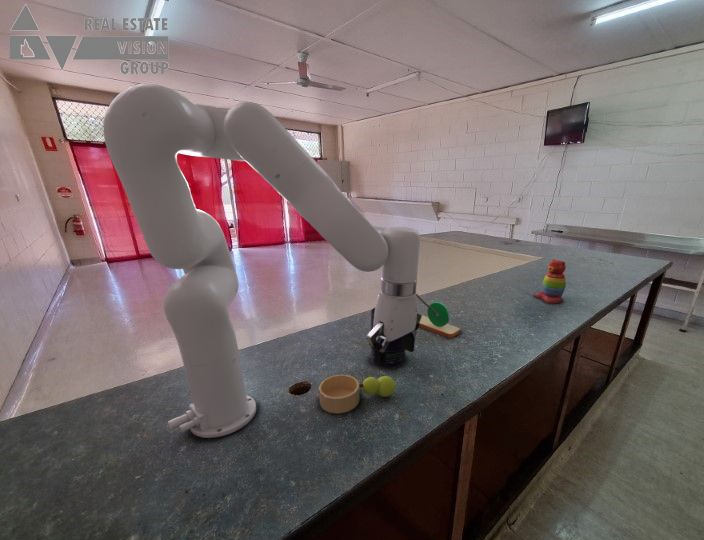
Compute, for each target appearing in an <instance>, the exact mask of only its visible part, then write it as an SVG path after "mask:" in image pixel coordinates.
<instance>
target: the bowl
mask: <svg viewBox="0 0 704 540" xmlns="http://www.w3.org/2000/svg"><path fill="white" fill-rule="evenodd" d="M359 384H360V382H359V381H358V379H357V378H355V377H354V376H352V375H348V374H334V375H331V376H328V377H326V378H324V379H323V380H322V382H320V384H319V387H318V398H319V404H320V408H322V409H323V411H325V412H327V413H330V414H344V413H348V412H350V411H352V410H354V409H355V408H356V407H357V406H358V404H359V403H360V386H359Z"/></svg>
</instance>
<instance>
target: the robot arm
mask: <svg viewBox="0 0 704 540" xmlns="http://www.w3.org/2000/svg"><path fill="white" fill-rule="evenodd" d="M103 137H104V143H105V146H106V147H105V148H106V150H107V153H108V156H109V158H110V160H111V163H112V165H113V167H114V170H115V171H116V173H117V176H118V178H119V180H120V182H121V185H122V187H123V190H124V192H125V194H126V197H127V200H128V203H129V205H130V208H131V211H132V213H133V215H134V217H135V220H136V222H137V225H138V227H139V229H140V232H141V235H142V237H143V240H144V242H145V245H146V247H147V249H148V251H149V253H150V255H151V257H152V258H153V259H154V260H155V261H156V262H157V263H159V264H160V265H161V266H162V267H165V268H168V269H171V270H182V271H183V273H184V275H182V276H181V277H179V278H178V279H177V280H175V281H174V282H173V283H172V284H171V286H170V287H169V288H168V289H167V292H166V293H165V296H164V299H163V312H164V316H165V318H166V319H167V322H168V323H169V326H170V328H171V330H172V332H173V334H174V336H175V340H176V343H177V345H178V349H179V353H180V357H181V360H182V364H183V368H184V371H185V372H184V373H185V376H186V380H187V384H188V387H189V392H190V395H191V398H192V399H191V400H192V403H190V404H189V405H188V407H189V410H187V411H184V412H185V413H184V414H182V415H180V416H177V417H175V418H172V419H171V420H168V421H167V427H168V429H169V430H170V431H174V430H176V429H178V428H179V430H180V432H181V433H184V432H186V431H189V430H190V432H191V433H192V435H195V436H196V437H199V438H206V439H210V438H212V439H213V438H220V437H224V436H227V435H231V434H232V433H235V432H237V431H238V430H240V429H242V428H243V427H245V426H247V424H249V423H250V422H251V421H252V419H253V418H254V417H255V415H256V414H257V413H256V412H257V403H256V400H255V399H254V398H253V397H252V396H250V395H248V394H247V391H246V386H245V379H244V375H243V369H242V364H241V358H240V357H241V356H240V351H239V347H238V341H237V336H236V332H235V329H234V325H233V323H232V320H231V317H230V314H229V309H230V308H229V307H230V306H231V304H232V302H233V301H234V300H235V298H236V297H237V294H238V291H239V286H240V285H239V278H238V273H237V270H236V267H235V265H234V261H233V257H232V255H231V252H230V249H229V246H228V242H227V240H226V239H227V238H226V236H225V234H224V231H223V229H222V227H221V226H220V224H219V222H218V221H217V220H216V219H215V218H214V217H213V216H212V215H210V214H209V213H207V212H206V211H203V210H201V209H197V208H196V205H195V202H194V199H193V196H192V193H191V188H190V187H189V183H188V181H187V179H186V177H185V175H184V173H183V171H182V170H181V168H180V165H179V163H178V157H177V156H178V155H179V154H182V155H187V156H193V157H201V158H202V157H203V158H212V159H213V158H214V159H222V160H229V161H237V162H238V161H239V162H246V163H247V164H248V165H249V166H250V167H251V168H252V169H253V170H254V171H255V172H256V173H258V174H259V175H260V176H261V177H262V178H263V179H264V181H266V182H267V183H268V184H269V185H270V186H271V187H272V188H273V189H274V190H275V191H276V192H277V193H278V194H279V195H280V196H281V197H282V198H283V199H284V200H285V201H286V202H287V203H288V204H289V205H290V206H291V207H292V208H293V209H294V210H295V211H296V213H298V214H299V216H301V217H302V218H303V219H304V220H305V221H307V223H308V224H310V226H311V227H312V228H314V229H315V231H316V232H317V233H319V235H320V236H321V237H322V238H323V239H324V240H325V241H326V242H327V243H328V244H329V245H330V246H331V247H332V248H333V249H334V250H335V251H336V252H337V253H338V254H339V255H341V256H342V257H343V258H344V259H345V260H346V261H347V263H349V264H350V265H351V266H352V267H354V268H355V269H356V270H358V271H361V272H364V273H365V272H368V273H371V272H375V271H377V270H380V269H381V273H380V293H378V295H377V298H376V303H375V306H374V308H375V314H374V324H373V329H372V331H371V330H370V331H369V333H367V335H366V340H367V342H368V344H369V346H370V347H371V346H372V348H374V349H375V350H374V363H375V364H377V365H379V366H381V367H383V368H382V369H386V368H385V367H386V364H387V351H385V349H386V347H387V345H388V344H389V342H390V341H393V340H395V339H397V338H400V337H402V336H403V344H402V348H403V349H406V350H405V351H408V352H410V353H414V351H415V342H416V336H417V335H418V329H419V328H420V327H419V323H420V320H421V317H422V315H423V314H421V313H418V297H417V296H416V293H417V284H418V271H419V256H420V243H421V235H420V232H419V231H418V230H417V229H415V228H413V227H407V226H391V227H385V226H376V225H372V223H371V222H370V221H369V220H368V219H367V218H366V216H364V214H363V213H361V211H360V210H359V209H358V208H357V207H356V206H355V205H354V204H353V203H352V202H351V201H350V200H349V199H348V197H347V196H346V195H345V194H344V193H343V191H341V189H340V188H339V187H338V185H337V184H336V183H335V181H334V180H333V179H332V177H331V176H330V175H329V174H328V173H327V172H326V171H325V170H324V169H323V167H322V166H321V165H320V164H319V163H318V162H317V161H316V160H315V159H314V158H313V157H312V155H310V154H309V152H308V151H307V150H306V149H305V148H304V147H303V146H302V145H301V144H300V143H299V141H298V140H297V139H296V138H295V137H294V136H293V135H292V134H291V133H290V132H289V131H288V129H286V127H285V126H284V125H283V124H282V123H281V122H280V121H279V120H278V119H277V118H276V117H275V116H274V114H273V113H271V112H270V111H269V110H268V109H267V108H265V107H264V106H263V105H261V104H259V103H256V102H252V101H243V102H238V103H236V104H235V105H233V106H232V107H231V108H230V109H228V108H220V107H216V106H211V105H204V104H198V103H195V102H194V101H192V100H190V99H189V98H188V97H187V96H185V95H183V94H181V93H180V92H178V91H176V90H174V89H171V88H169V87H167V86H163V85H161V84H154V83H140V84H135V85H132V86H130V87H128V88H126V89H124V90H122V91H121V92H120V93H119V94H117V95H116V96H115V98H113V100H112V101H111V102H110V103H109V106H108V107H107V109H106V111H105V115H104V119H103ZM420 314H421V315H420ZM383 334H384V335H385V336H386V337H384V336H383ZM376 337H377V338H376ZM381 339H383V340H384V342H383V344H382V346H381V345H380V344H379V343H380V341H381ZM381 367H380V368H381Z"/></svg>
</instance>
